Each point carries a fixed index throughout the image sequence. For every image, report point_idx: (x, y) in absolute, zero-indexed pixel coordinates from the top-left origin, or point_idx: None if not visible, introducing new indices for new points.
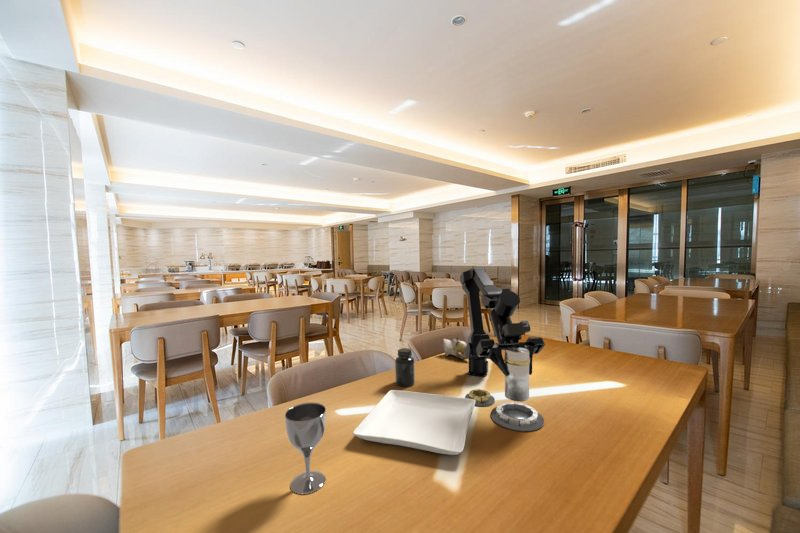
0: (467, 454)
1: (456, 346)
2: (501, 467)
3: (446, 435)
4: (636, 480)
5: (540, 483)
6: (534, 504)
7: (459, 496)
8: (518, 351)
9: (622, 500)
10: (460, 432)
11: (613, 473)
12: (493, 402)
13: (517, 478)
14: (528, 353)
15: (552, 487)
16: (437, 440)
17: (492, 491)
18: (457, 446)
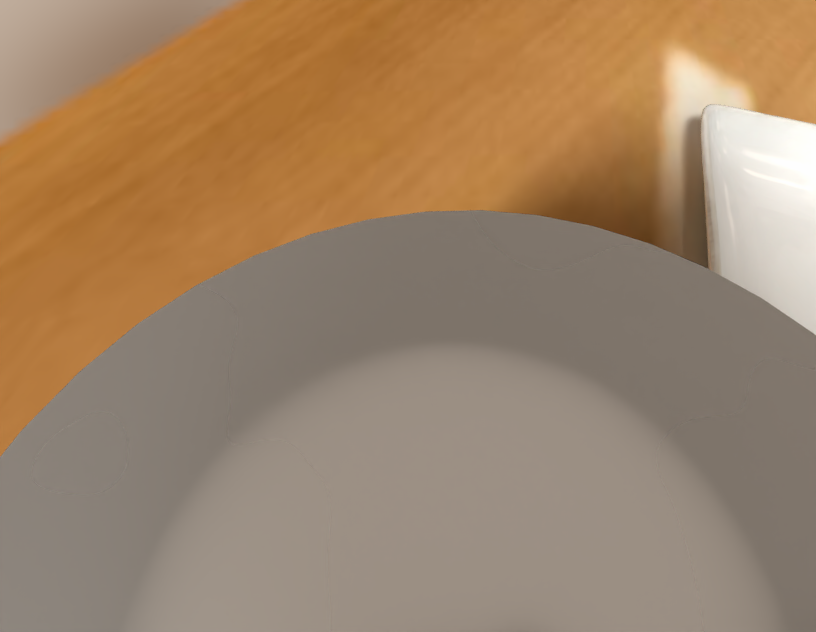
0: (660, 197)
1: None
2: (537, 136)
3: (776, 293)
4: (99, 89)
5: (425, 76)
6: (465, 16)
7: (661, 36)
8: (478, 547)
9: (213, 25)
10: (726, 275)
11: (152, 116)
12: None
13: (492, 93)
14: (97, 378)
15: (394, 63)
16: (803, 255)
17: (573, 51)
18: (718, 183)
